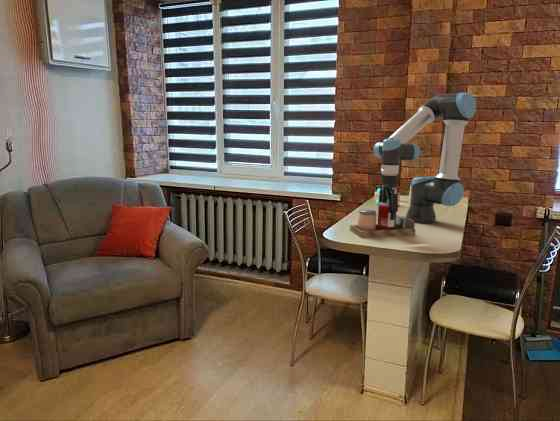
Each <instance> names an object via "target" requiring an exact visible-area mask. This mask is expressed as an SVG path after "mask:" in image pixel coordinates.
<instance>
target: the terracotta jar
mask: <svg viewBox="0 0 560 421" xmlns="http://www.w3.org/2000/svg"><path fill="white" fill-rule="evenodd" d="M376 212H377V211H376V210H374V209H366V208H365V209H359V211H358V213H357V215H358V216H357V225H358V229H360V230H361V231H369V230H376V224H377V217H378V213H376Z"/></svg>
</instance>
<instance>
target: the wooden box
mask: <svg viewBox="0 0 560 421" xmlns="http://www.w3.org/2000/svg"><path fill="white" fill-rule="evenodd" d="M401 217H402V218H405V219H406V223H407V226H405V229H397V230H394V229H383V228H379V227H378V225H377V223H376V230H369V231H361V230H360V229H358V224H350V225H349V232H351V233H353V234H354V235H356V236H358V237H359V238H369V237H370V238H372V237H376V238H377V237H393V236H395V237H396V236H397V237H398V236H400V237H401V236H416V229H415V225H416V222H415V221H413V220H411V219H408V218H406V216H401Z"/></svg>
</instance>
